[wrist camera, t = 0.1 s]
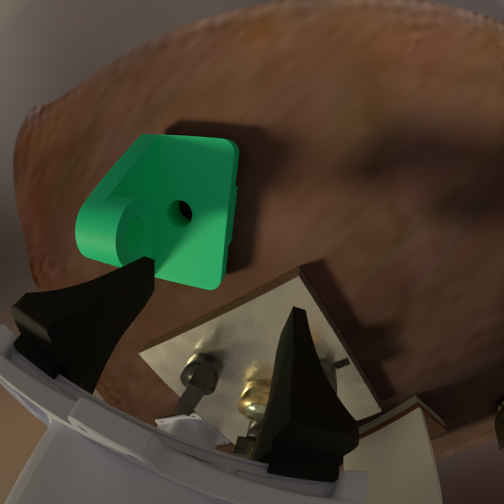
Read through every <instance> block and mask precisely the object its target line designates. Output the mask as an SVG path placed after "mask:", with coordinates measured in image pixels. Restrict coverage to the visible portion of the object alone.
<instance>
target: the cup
mask: <svg viewBox="0 0 504 504" xmlns="http://www.w3.org/2000/svg"><path fill="white" fill-rule="evenodd" d="M496 410H497V412H498V414H497V416H496V418H495V430H496V435H497V439H498V443H499V449H501V450H502V448H503V447H504V397H503V398H502V399H501V400H500V401H499V403H498V404H497V407H496Z"/></svg>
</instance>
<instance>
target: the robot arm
mask: <svg viewBox="0 0 504 504" xmlns="http://www.w3.org/2000/svg"><path fill="white" fill-rule="evenodd" d="M154 276H155V260H154V259H152V258H149V257H146V256H144V257H141V258H139V259H137V260H135V261H133V262H131V263H129V264H127V265H125V266H123V267H121V268H119V269H117V270H114V271H112V272H110V273H108V274H105V275H103V276H101V277H99V278H96V279H94V280H91V281H88V282H85V283H82V284H79V285H75V286H71V287H67V288H63V289H59V290H53V291H46V292H35V293H26V294H25V295H24V296H23V297H21V298H20V299H19V300H18V301H17V302H16V304H14V305H13V306H12V309H11V312H12V316H13V318H14V321H15V323H16V325H17V327H18V329H19V331H20V333H21V335H20V336H19V337H17V336H16V335H15V334H14V333H13V332H12V331H11V330H10V329H9V328H8V327H7V326H5V325H4V324H2V325H1V326H0V383H1V385H2V386H4V387H5V389H7V391H9V392H10V393H11V394H12V395H13V396H14V397H15V398H16V399H17V400H18V401H19V402H20V403H21V404H22V405H23V406H24V407H26V408H27V409H28V410H29V411H30V412H31V413H32V414H34V415H35V416H36V417H37V418H39V420H41V421H42V422H43V423H44V424H46V425H47V426H48V429H47V430H46V432H45V433H44V435H43V437H42V438H41V440H40V441H39V443H38V445H37V446H36V448H35V450H34V451H33V453H32V455H31V456H30V458H29V460H28V461H27V463H26V465H25V467H24V468H23V470H22V472H21V474H20V475H19V477H18V479H17V481H16V483H15V484H14V486H13V488H12V490H11V492H10V494H9V496H8V498H7V500H6V501H5V504H366V501H367V490H368V475H369V472H367V471H354V470H342V471H339V467H340V465H342V463H343V456H345V455H347V454H348V453H350V452H351V451H353V450H354V449H355V448H357V447H358V445H359V427H358V422H357V421H356V420H355V419H354V417H353V416H352V415H351V414H350V413H349V411H348V410H347V409H346V408H345V406H344V405H343V403H342V402H341V401H340V399H339V397H338V396H337V394H336V392H335V391H334V389H333V388H332V386H331V384H330V382H329V380H328V378H327V376H326V374H325V372H324V370H323V367H322V365H321V363H320V360H319V357H318V355H317V352H316V349H315V346H314V342H313V339H312V335H311V332H310V327H309V323H308V318H307V312H306V310H305V309H301V308H298V307H295V306H293V307H292V310H291V312H290V314H289V317H288V319H287V321H286V323H285V325H284V328H283V330H282V332H281V335H280V339H279V342H278V346H277V350H276V356H275V363H274V369H273V376H272V383H271V389H270V394H269V398H268V402H267V406H266V409H265V413H264V416H263V419H262V423H261V426H260V429H259V432H258V436H257V439H256V442H255V445H254V448H253V451H252V453H251V456H250V459H245V458H241V457H237V456H234V455H230V454H227V453H224V452H220V451H217V450H215V447H216V445H222V444H229V443H230V442H231V441H229V440H228V439H227V438H226V437H225V436H223V435H222V434H221V433H220V432H218V431H217V430H216V429H215V428H214V427H213V426H211V425H210V424H209V423H208V422H207V421H206V420H205V419H203V418H202V417H201V416H200V415H199V414H198V413H197V412H193V413H191V415H190V416H189V417H188V416H186V415H184V414H183V415H177V416H172V417H166V418H159V419H156V420H155V422H156V423H157V424H158V427H157V428H156V427H153V426H151V425H149V424H147V423H145V422H143V421H140V420H138V419H136V418H134V417H132V416H130V415H128V414H126V413H124V412H122V411H120V410H118V409H116V408H115V407H113V406H111V405H109V404H107V403H105V402H104V401H102V400H100V399H98V398H96V397H95V396H93V392H94V390H95V387H96V385H97V382H98V380H99V378H100V376H101V373H102V371H103V369H104V367H105V365H106V363H107V361H108V359H109V357H110V355H111V353H112V352H113V350H114V348H115V346H116V345H117V343H118V341H119V340H120V338H121V337H122V335H123V334H124V332H125V331H126V330H127V328H128V327H129V326H130V325H131V323H132V322H133V321H134V319H135V318H136V317H137V316H138V314H139V313H140V312H141V310H142V309H143V308H144V306H145V305H146V303H147V302H148V300H149V298H150V297H151V295H152V293H153V291H154Z"/></svg>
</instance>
